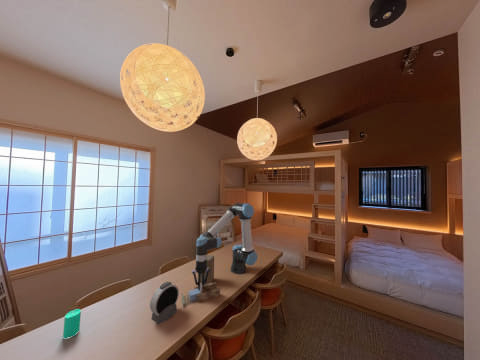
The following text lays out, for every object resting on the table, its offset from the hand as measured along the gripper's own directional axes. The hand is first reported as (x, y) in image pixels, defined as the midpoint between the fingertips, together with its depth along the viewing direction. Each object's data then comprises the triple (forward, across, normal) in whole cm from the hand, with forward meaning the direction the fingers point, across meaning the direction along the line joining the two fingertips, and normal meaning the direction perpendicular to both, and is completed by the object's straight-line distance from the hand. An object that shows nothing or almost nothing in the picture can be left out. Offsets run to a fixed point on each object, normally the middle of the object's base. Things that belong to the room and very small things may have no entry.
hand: (200, 293), depth 114 cm
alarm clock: (+2, +23, +7) cm, 25 cm away
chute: (+2, 0, 0) cm, 2 cm away
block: (+2, +4, 0) cm, 4 cm away
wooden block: (+2, -9, -17) cm, 19 cm away
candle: (+2, +68, +1) cm, 68 cm away
